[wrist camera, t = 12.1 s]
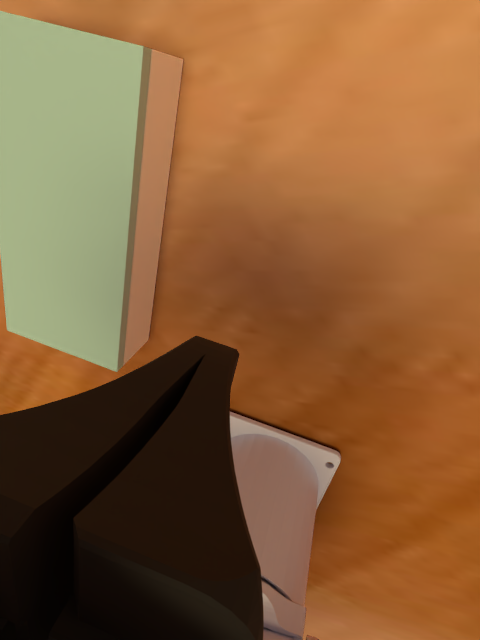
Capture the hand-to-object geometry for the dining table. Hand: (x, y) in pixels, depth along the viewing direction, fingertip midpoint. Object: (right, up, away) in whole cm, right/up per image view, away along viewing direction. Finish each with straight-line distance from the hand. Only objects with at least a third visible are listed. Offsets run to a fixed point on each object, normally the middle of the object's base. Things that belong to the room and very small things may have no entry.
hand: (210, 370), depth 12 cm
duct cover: (-7, +6, +8) cm, 12 cm away
